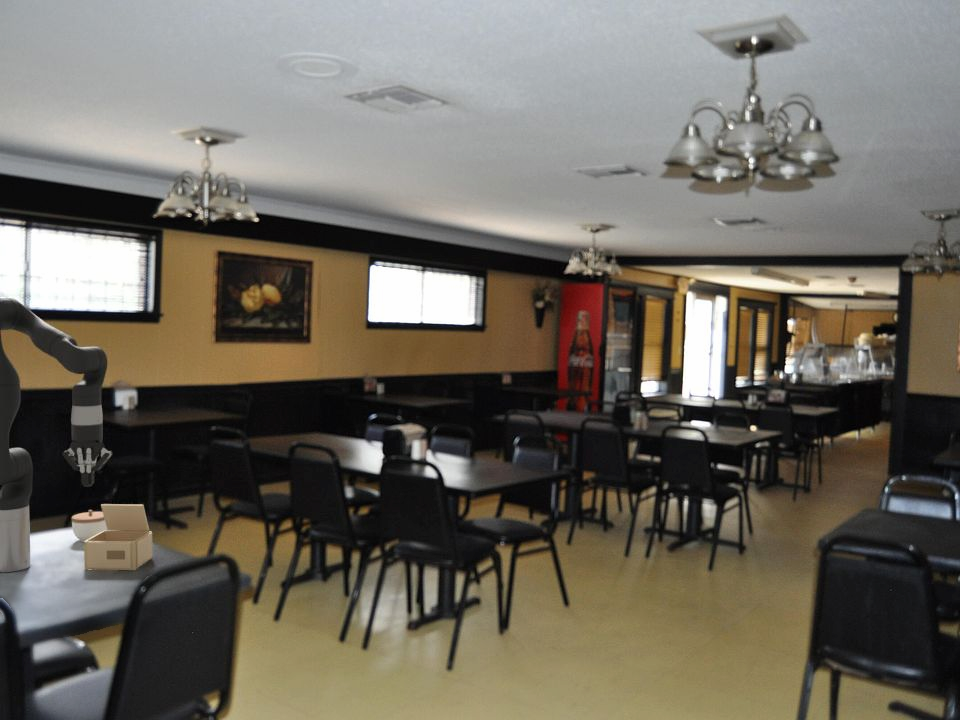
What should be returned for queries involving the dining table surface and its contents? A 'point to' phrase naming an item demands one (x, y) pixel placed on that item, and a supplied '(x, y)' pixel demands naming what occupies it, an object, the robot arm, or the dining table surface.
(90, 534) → the lidded jar
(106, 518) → the flap
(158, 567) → the dining table surface
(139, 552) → the carton
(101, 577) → the dining table surface
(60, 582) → the dining table surface
